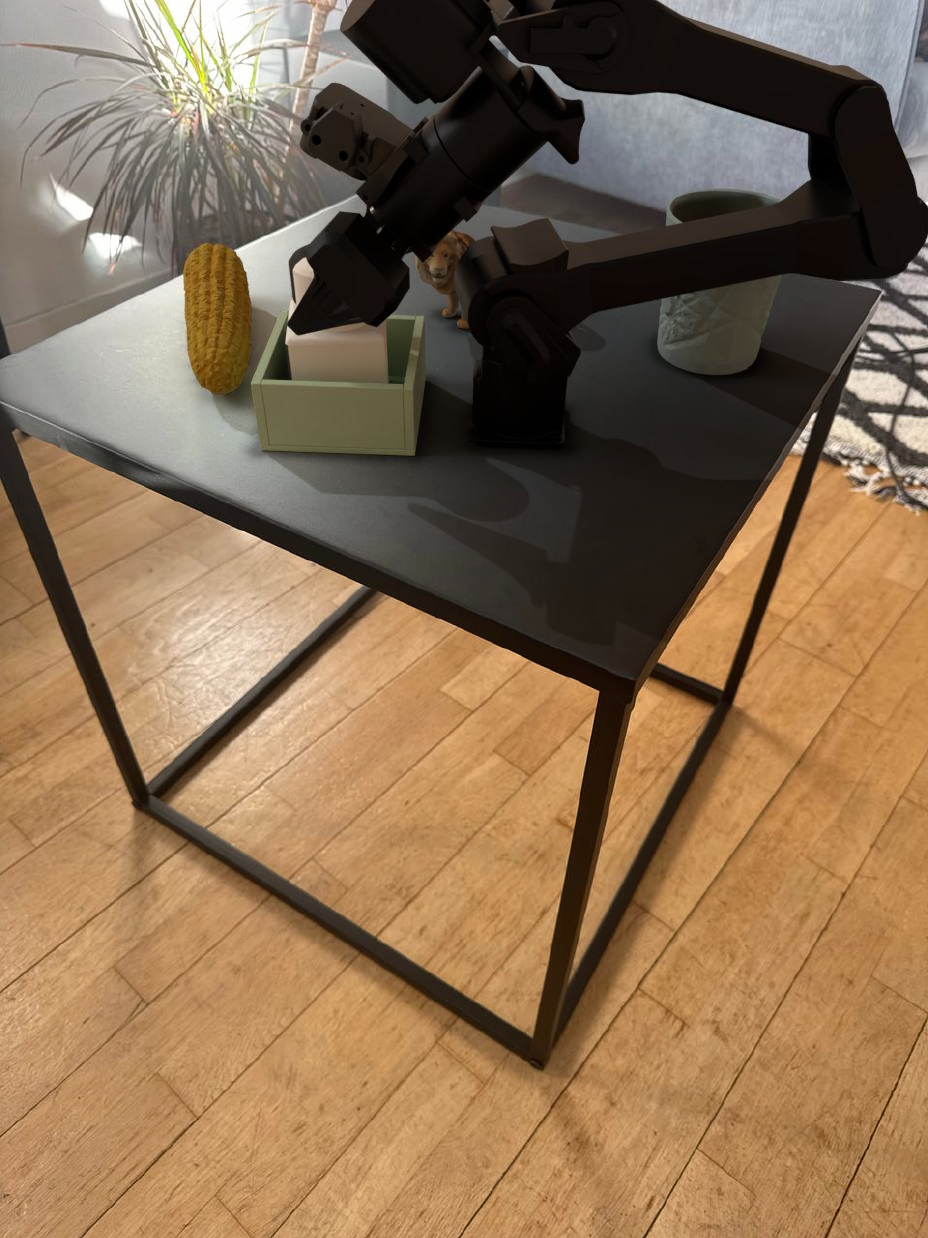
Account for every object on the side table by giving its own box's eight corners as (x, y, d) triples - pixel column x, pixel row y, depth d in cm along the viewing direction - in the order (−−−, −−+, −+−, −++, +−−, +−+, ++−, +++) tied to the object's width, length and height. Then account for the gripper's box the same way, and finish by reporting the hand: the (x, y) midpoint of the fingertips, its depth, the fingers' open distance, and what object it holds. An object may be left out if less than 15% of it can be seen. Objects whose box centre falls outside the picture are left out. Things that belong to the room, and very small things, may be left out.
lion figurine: (429, 344, 82) (428, 241, 76) (405, 319, 85) (402, 218, 79) (574, 313, 87) (584, 213, 81) (545, 290, 90) (553, 193, 84)
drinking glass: (781, 345, 83) (818, 205, 75) (737, 393, 77) (772, 246, 68) (675, 315, 87) (699, 178, 79) (625, 358, 81) (646, 215, 72)
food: (188, 299, 88) (176, 234, 84) (249, 294, 89) (240, 230, 85) (193, 415, 73) (179, 343, 69) (267, 407, 74) (257, 336, 70)
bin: (425, 378, 78) (424, 315, 74) (414, 456, 69) (413, 389, 66) (288, 374, 78) (280, 310, 74) (260, 450, 70) (250, 383, 66)
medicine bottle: (299, 381, 76) (282, 231, 68) (388, 378, 77) (381, 229, 68) (295, 428, 71) (276, 272, 63) (390, 425, 71) (383, 270, 63)
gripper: (414, 9, 63) (276, 169, 72) (324, 81, 49) (169, 266, 58) (523, 146, 67) (380, 281, 76) (468, 247, 54) (302, 395, 63)
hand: (314, 301), depth 68 cm, fingers open, 9 cm apart
